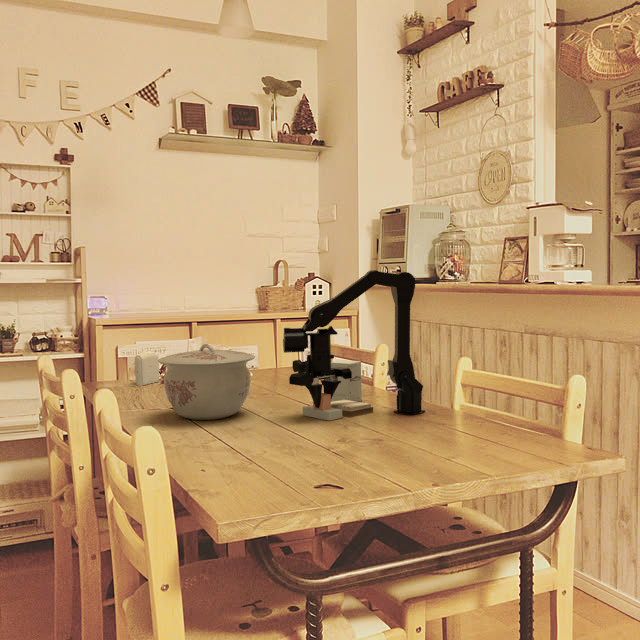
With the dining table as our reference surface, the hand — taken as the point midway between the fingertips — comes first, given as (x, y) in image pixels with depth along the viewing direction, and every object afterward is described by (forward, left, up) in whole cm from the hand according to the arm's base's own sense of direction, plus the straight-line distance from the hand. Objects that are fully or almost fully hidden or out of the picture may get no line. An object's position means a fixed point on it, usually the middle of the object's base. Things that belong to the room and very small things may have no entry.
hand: (322, 407), depth 190 cm
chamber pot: (+26, +20, -3) cm, 33 cm away
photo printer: (+96, +3, -3) cm, 96 cm away
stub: (0, 0, -3) cm, 3 cm away
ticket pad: (0, -10, -3) cm, 10 cm away
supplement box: (+12, -21, -3) cm, 24 cm away
